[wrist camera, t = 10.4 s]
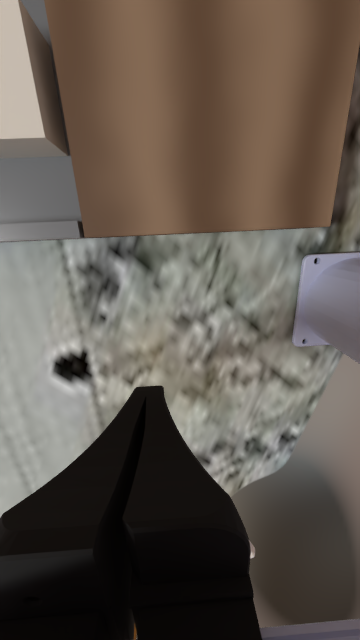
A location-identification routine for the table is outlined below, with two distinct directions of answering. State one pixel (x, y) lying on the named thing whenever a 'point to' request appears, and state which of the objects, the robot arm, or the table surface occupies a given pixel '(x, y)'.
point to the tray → (39, 180)
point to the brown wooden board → (204, 111)
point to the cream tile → (27, 89)
